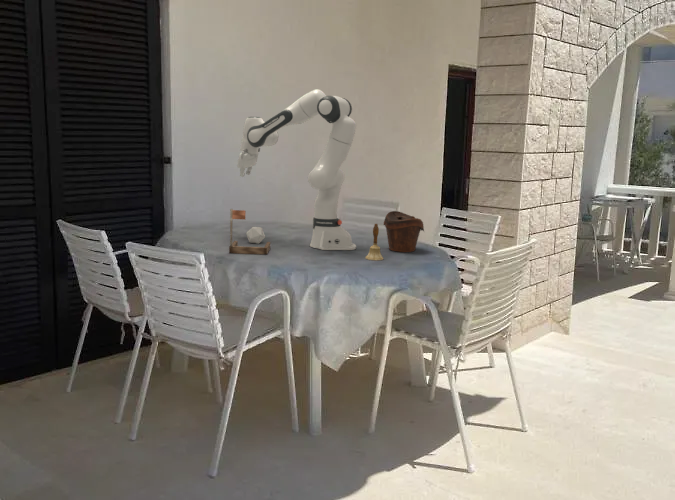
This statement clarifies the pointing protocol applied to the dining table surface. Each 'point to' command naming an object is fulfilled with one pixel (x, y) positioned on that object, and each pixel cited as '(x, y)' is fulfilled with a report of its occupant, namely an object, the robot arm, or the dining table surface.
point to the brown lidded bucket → (402, 231)
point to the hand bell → (375, 247)
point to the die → (255, 235)
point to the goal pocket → (234, 246)
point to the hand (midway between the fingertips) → (245, 175)
